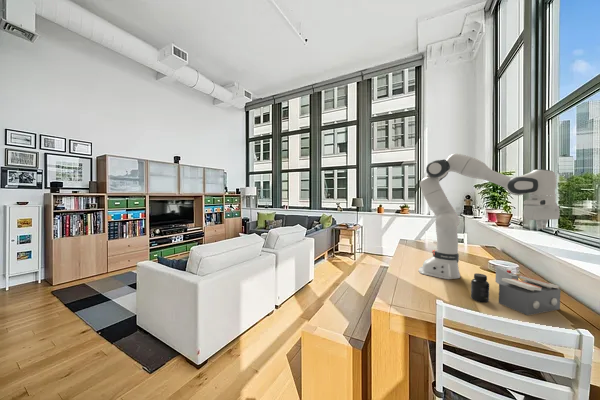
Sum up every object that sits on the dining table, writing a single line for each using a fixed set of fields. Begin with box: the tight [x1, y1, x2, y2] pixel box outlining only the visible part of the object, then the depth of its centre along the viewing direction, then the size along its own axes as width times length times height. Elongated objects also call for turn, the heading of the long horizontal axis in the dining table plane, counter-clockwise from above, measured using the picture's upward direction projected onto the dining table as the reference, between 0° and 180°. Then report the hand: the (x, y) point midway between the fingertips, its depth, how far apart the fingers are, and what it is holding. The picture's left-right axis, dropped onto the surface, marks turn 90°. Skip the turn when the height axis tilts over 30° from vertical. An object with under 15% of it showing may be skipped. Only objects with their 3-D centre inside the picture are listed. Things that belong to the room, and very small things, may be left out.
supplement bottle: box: [470, 273, 490, 304], centre depth 109 cm, size 7×7×12 cm
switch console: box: [498, 280, 562, 316], centre depth 103 cm, size 20×12×9 cm, turn 105°
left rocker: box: [502, 278, 542, 291], centre depth 102 cm, size 8×10×2 cm
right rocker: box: [518, 274, 560, 289], centre depth 105 cm, size 8×10×2 cm
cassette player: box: [495, 265, 520, 285], centre depth 124 cm, size 16×3×10 cm, turn 163°
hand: (541, 228), depth 117 cm, fingers closed
